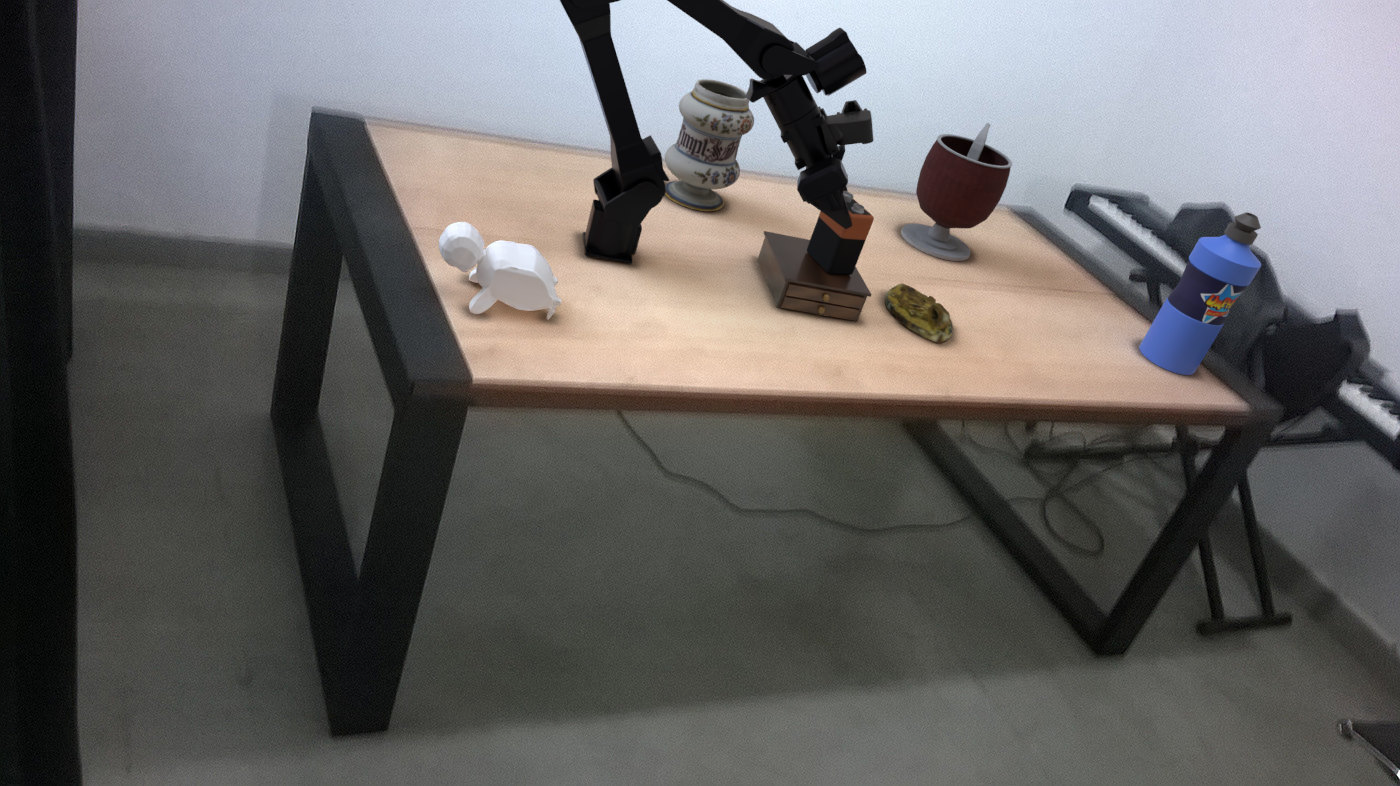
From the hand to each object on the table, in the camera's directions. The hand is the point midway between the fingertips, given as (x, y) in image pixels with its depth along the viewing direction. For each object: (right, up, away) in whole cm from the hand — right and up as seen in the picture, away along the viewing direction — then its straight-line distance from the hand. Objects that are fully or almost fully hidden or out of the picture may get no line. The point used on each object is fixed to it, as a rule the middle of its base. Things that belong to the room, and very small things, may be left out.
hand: (848, 214), depth 146 cm
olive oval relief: (+11, -13, +9) cm, 20 cm away
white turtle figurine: (-44, -14, -21) cm, 51 cm away
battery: (-2, -6, +4) cm, 8 cm away
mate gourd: (+20, +1, +37) cm, 42 cm away
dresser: (-5, -10, +6) cm, 12 cm away
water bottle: (+53, -19, +21) cm, 60 cm away
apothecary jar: (-21, +7, +24) cm, 33 cm away
